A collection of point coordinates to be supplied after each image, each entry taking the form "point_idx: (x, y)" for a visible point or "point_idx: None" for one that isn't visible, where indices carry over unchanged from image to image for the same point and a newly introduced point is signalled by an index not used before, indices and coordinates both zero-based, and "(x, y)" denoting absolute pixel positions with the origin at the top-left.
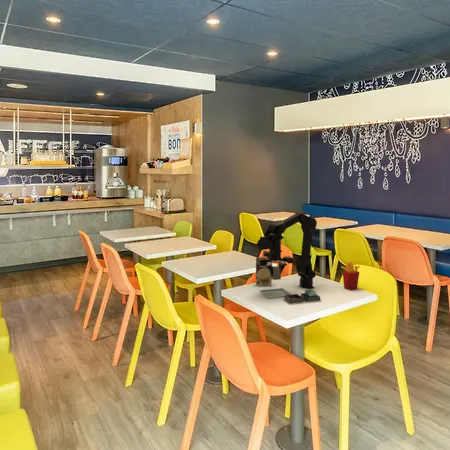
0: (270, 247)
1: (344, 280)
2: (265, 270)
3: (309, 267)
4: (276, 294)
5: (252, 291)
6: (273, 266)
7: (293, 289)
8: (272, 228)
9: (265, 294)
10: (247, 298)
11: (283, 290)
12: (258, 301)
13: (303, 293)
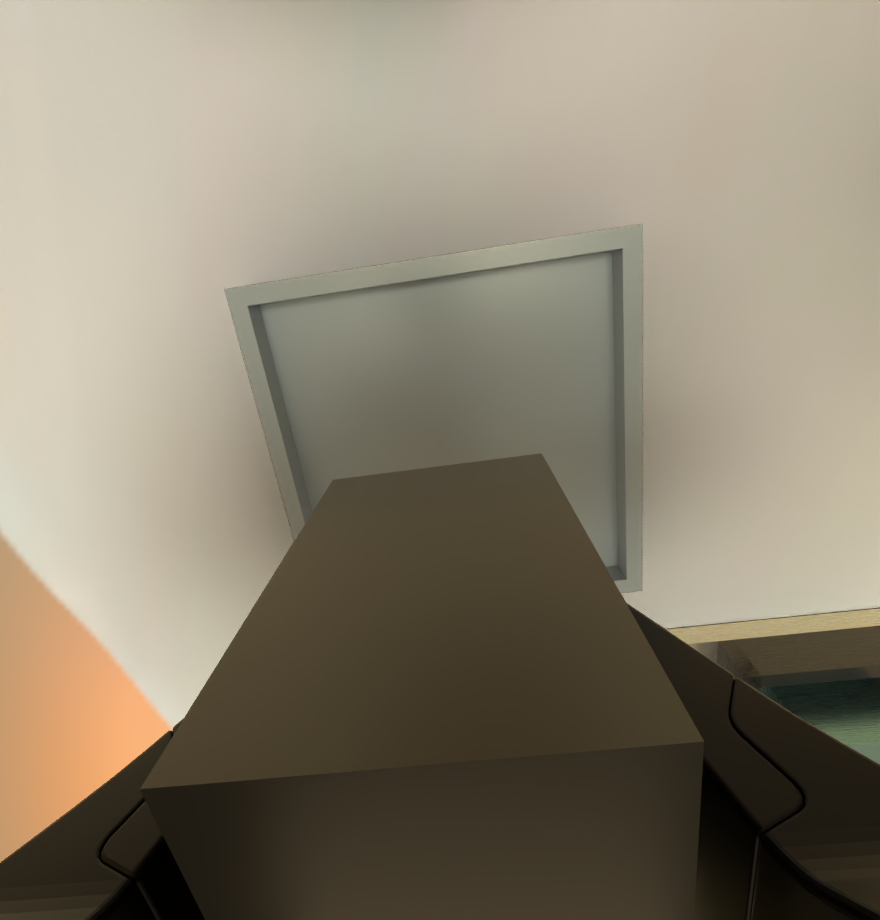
0: None
1: None
2: None
3: None
4: (464, 462)
5: (128, 180)
6: (385, 794)
7: (838, 173)
8: None
9: (296, 525)
10: (81, 506)
11: (618, 324)
12: (216, 622)
13: (781, 681)
